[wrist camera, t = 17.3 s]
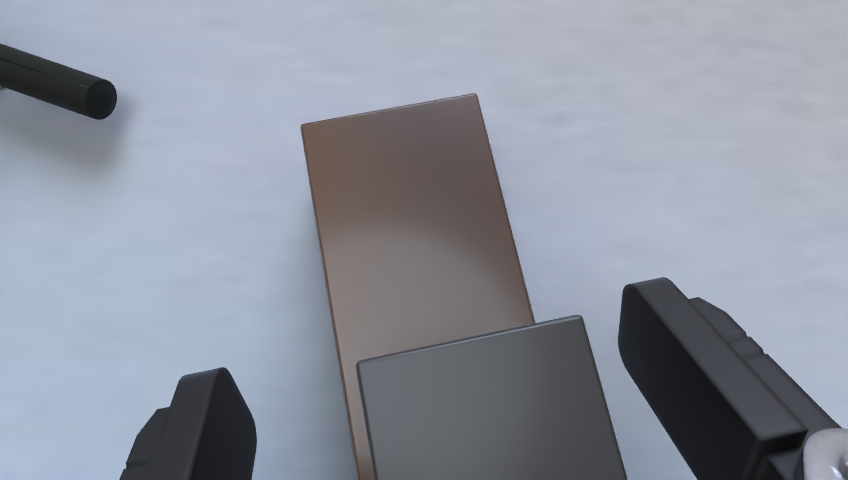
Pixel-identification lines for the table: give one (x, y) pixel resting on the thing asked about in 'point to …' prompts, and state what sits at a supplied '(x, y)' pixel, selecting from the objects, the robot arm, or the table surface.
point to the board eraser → (444, 309)
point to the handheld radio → (56, 83)
